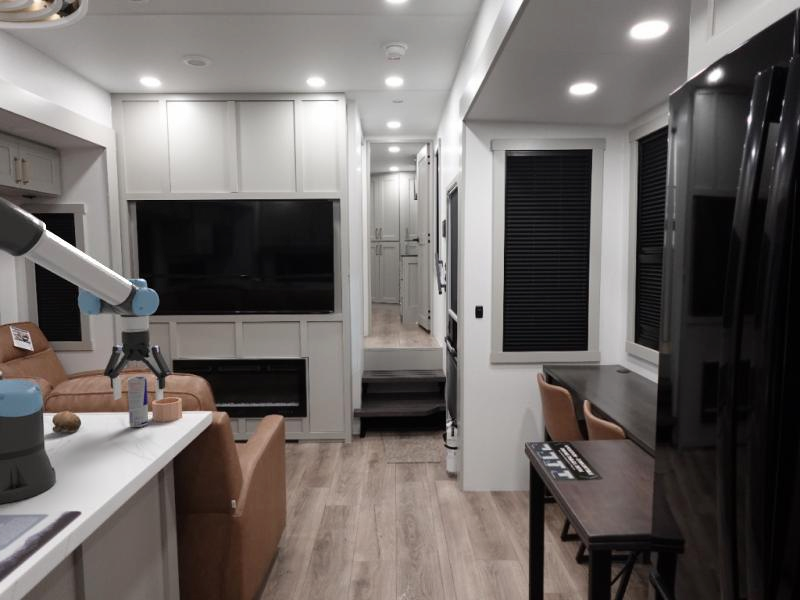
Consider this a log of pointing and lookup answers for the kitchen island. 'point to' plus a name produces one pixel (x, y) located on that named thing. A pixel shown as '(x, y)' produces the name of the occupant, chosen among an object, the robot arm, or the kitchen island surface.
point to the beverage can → (138, 401)
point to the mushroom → (66, 422)
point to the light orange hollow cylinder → (167, 409)
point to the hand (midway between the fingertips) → (138, 399)
